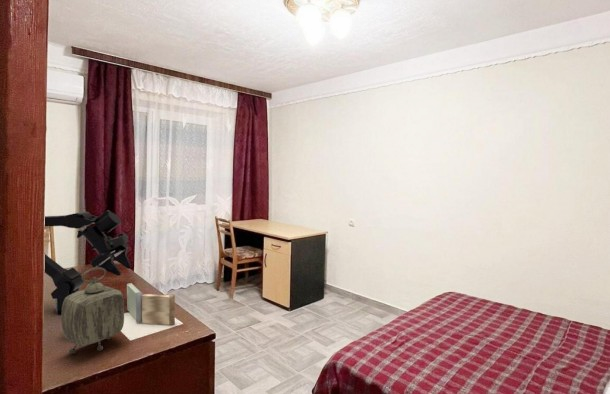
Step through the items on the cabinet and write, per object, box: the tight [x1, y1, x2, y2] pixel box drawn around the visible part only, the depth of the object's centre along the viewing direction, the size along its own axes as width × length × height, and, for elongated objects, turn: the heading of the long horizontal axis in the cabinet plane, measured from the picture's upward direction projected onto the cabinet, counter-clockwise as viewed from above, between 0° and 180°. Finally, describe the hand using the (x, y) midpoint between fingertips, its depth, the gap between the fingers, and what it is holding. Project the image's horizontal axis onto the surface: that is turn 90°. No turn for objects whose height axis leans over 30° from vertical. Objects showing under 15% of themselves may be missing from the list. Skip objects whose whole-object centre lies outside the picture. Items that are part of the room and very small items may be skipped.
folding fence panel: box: [126, 283, 143, 323], centre depth 125 cm, size 14×2×10 cm, turn 41°
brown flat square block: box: [141, 293, 176, 326], centre depth 120 cm, size 12×2×11 cm, turn 86°
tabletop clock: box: [60, 266, 125, 355], centre depth 102 cm, size 14×9×25 cm, turn 150°
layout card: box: [120, 311, 184, 341], centre depth 122 cm, size 18×23×1 cm
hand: (125, 271), depth 131 cm, fingers open, 9 cm apart
